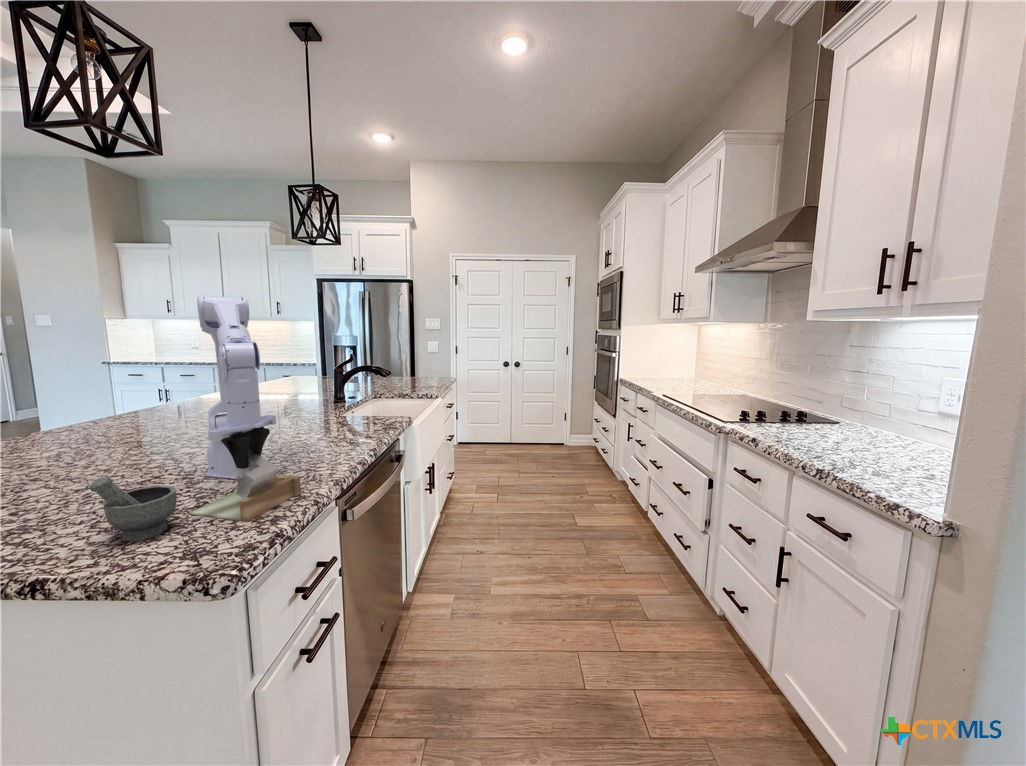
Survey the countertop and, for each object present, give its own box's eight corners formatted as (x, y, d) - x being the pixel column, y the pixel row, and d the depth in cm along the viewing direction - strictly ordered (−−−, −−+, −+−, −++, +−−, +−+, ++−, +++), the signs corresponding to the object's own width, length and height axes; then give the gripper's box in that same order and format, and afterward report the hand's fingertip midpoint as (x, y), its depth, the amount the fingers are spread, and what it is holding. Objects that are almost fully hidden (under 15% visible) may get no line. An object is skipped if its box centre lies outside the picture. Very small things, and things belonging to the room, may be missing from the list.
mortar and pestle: (163, 515, 79) (157, 456, 77) (191, 525, 75) (184, 464, 73) (84, 542, 69) (75, 476, 67) (111, 556, 65) (102, 485, 63)
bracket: (271, 487, 85) (278, 467, 84) (245, 500, 79) (253, 479, 77) (241, 468, 86) (248, 448, 84) (213, 479, 79) (220, 458, 78)
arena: (186, 514, 80) (184, 494, 79) (243, 487, 93) (242, 471, 92) (251, 522, 77) (249, 502, 76) (300, 493, 90) (299, 476, 89)
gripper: (228, 409, 74) (234, 479, 76) (286, 396, 88) (290, 456, 90) (196, 407, 75) (203, 476, 77) (258, 395, 89) (263, 453, 91)
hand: (248, 465), depth 84 cm, fingers closed on bracket, 2 cm apart
